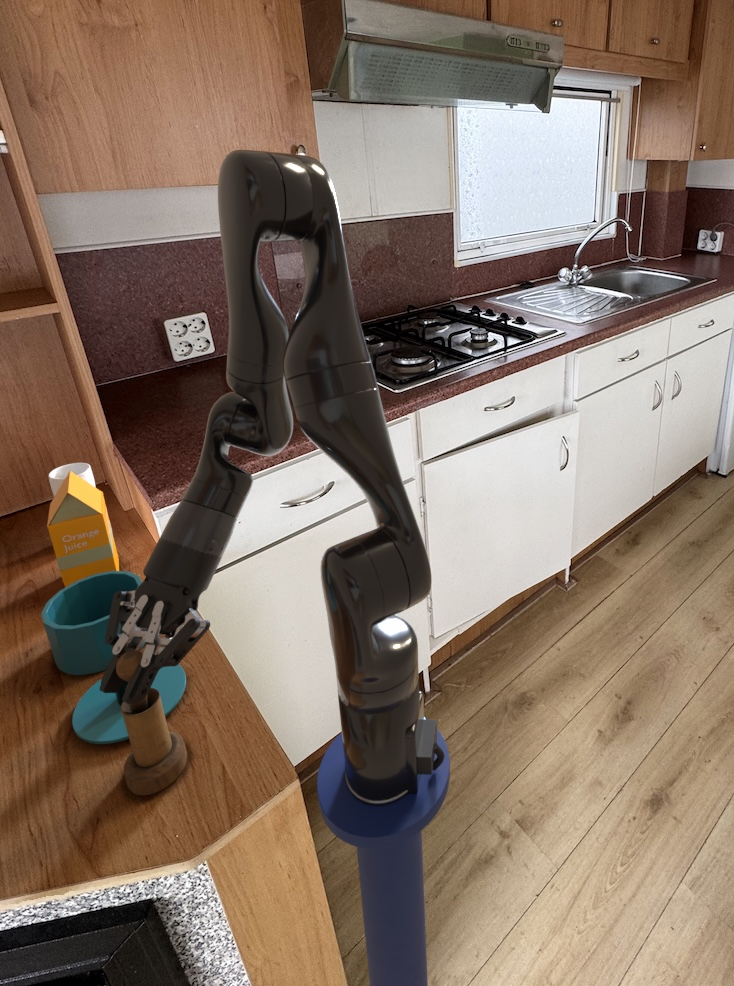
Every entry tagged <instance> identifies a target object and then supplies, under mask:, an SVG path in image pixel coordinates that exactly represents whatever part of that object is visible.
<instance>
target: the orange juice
mask: <svg viewBox="0 0 734 986" xmlns="http://www.w3.org/2000/svg"><path fill="white" fill-rule="evenodd" d="M46 528H47V530H48V534H49V536H50V540H51V544H52V548H53V551H54V554H55V558H56V562H57V566H58V570H59V572H60V575H61V578H62V582H63V583H62V584H63V586H64V588H65V587H67V586H69V585H71V584H72V583H74V582H76V581H78V580H81V579H84V578H86V577H89V576H92V575H94V574H99V573H104V572H110V571H120V560H119V555H118V554H119V553H118V550H117V546H116V542H115V538H114V534H113V528H112V524H111V520H110V518H109V513H108V509H107V505H106V501H105V496H104V492H103V491H101V490H100V489H99V488H97V487H96V488H95V487H94V486H92V485H91V484H89V483H88V482H86V481H85V480H83V479H82V478H80V477H79V476H77V475H76V474H74V473H73V472H71V471H69V473H68V474H67V476H66V478H65V480H64V481H63V483H62V485H61V486H60V488H59V490H58V492H57V493H56V495H55V497H54V496H53V498H52V500H51V501H50V503H49V510H48V517H47V524H46Z"/></svg>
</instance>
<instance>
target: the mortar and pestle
mask: <svg viewBox="0 0 734 986" xmlns="http://www.w3.org/2000/svg"><path fill="white" fill-rule="evenodd" d="M143 654H144V651H141V650H132V651H129V652H126V653H125V654H123V655H122V656H121V657H120V659H119V660H118V662H117V665H116V672H117V675H118V676H119V677H120V678H121V679H123V680H125V681H127V682H128V683H130V681H131V679H132V677H133V675H134V673H135V671H136V669H137V666H141V659H142V656H143ZM128 685H129V684H128ZM128 685H127V687H128ZM127 687H126V689H127ZM126 689H125V691H126ZM121 711H122V715H123V718H124V722H125V725H126V729H127V733H128V736H129V739H128V740H129V743H130V747H131V750H132V751H131V752H130V753H129V754H128V756H127V758H126V760H125V763H124V766H123V775H124V778H125V783H126V785H127V788H128V790H129V791H130V792H131V793H132V794H134V795H136V796H149V795H154V794H157V793H159V792H160V791H163V790H164V789H166V788H167V787H169V786H170V785H172V784H173V783H174V782H175V781H176V780H177V779H178V778H179V777H180V776H181V774H182V773H183V771H184V770H185V768H186V765H187V761H188V752H187V748H186V743H185V740H184V738H183V737H182V735H180V734H179V733H178V732H175V731H169V727H168V723H167V719H166V717H165V714H164V710H163V706H162V702H161V697H160V693H159V691H158V690H157V689H155V688H150V689H149V692H148V694H147V696H146V697H145V698H144V699H142V701H141V702H139V703H136V704H127V703H125V702H123V703H122V706H121Z"/></svg>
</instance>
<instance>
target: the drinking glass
mask: <svg viewBox="0 0 734 986" xmlns="http://www.w3.org/2000/svg"><path fill="white" fill-rule="evenodd" d="M69 471H71V472H73V473H74V474H76V475H77V476H79V477H80V478H82V479H83V480H85V481H86V482H88V483H89V484H91V485H92V486H94V487H95V488H97V487H96V486H97V485H96V480H95V476H94V473H93V470H92V467H91V465H90V464H89V463H87V462H73V463H72V462H71V463H68V464H64V465H61V466H58V467H56V468H53V470H51V471H50V472H49V473H48V480H49V484H50V489H51V492H52V496H53V498H54V497H55V495H56V493H57V492H58V490H59V488H60V486H61V485H62V483H63V481H64V480H65V478H66V476H67V474H68V473H69Z"/></svg>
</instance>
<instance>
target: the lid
mask: <svg viewBox="0 0 734 986" xmlns="http://www.w3.org/2000/svg"><path fill="white" fill-rule="evenodd" d="M101 680H102V678H101V679H99V680H98V681H96V682H94V684H93V685H91V687H90V688H89V689H88V690H87V691H86V692H85V693H84V694H83V695H82V697H81V698H80V699H79V701H78V702H77V704H76V705H75V708H74V710H73V713H72V719H71V724H72V728H73V731H74V733H75V735H76V736H77V737H78V738H79V739H81V740H82V741H84V742H86V743H89V744H95V745H110V744H115V743H120V742H123V741H126V740H129V736H128V733H127V729H126V725H125V722H124V718H123V715H122V711H121V706H122V703H123V701H122V698H123V696H124V693H125V689H126V687H127V685H128V684H129V683H128V682H127V681H125V680H124V682H123V684H122V686H121V688H120V690H119V691H118V692H116V693H104V692H102V691H100V686H101ZM186 687H187V675H186V672H185V670H184V668H183V667H182V666H181V665H180V663H179V664H178V665H177V666H170V667H162V668H161V669H160V670H159V671H158V673H157V675H156V677H155V679H154V681H153V684H152V685H151V688H155V689H157V690H158V691H159V693H160V697H161V702H162V706H163V710H164V714H165V718H166V717H167V716H168V715H170V714H171V713H172V712H173V710H174V709H175V708H176V707H177V705H178V704H179V703H180V701H181V699H182V698H183V696H184V693H185V691H186Z"/></svg>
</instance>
